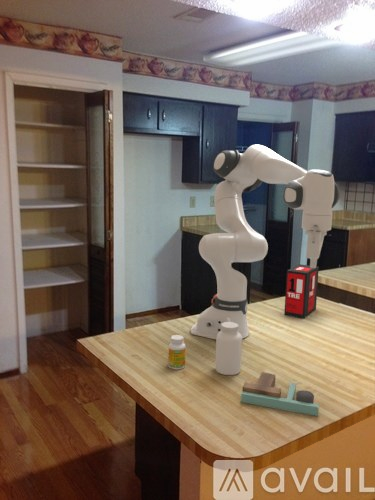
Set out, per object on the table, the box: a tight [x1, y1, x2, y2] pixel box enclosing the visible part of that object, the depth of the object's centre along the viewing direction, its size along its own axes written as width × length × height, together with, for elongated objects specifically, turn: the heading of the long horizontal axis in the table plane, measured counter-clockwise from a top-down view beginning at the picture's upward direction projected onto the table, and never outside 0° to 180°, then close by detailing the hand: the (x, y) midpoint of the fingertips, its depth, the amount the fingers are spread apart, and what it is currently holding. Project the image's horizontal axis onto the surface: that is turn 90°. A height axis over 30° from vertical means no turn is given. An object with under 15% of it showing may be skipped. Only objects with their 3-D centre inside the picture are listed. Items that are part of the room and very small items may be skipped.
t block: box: [241, 371, 282, 398], centre depth 123 cm, size 10×11×4 cm
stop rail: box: [240, 382, 320, 417], centre depth 120 cm, size 20×12×2 cm, turn 71°
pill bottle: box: [214, 322, 243, 376], centre depth 136 cm, size 8×8×15 cm
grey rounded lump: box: [295, 389, 315, 404], centre depth 116 cm, size 4×4×4 cm
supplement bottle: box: [167, 334, 187, 370], centre depth 139 cm, size 5×5×10 cm
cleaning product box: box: [283, 263, 320, 320], centre depth 196 cm, size 16×9×20 cm, turn 147°
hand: (313, 267), depth 138 cm, fingers closed
